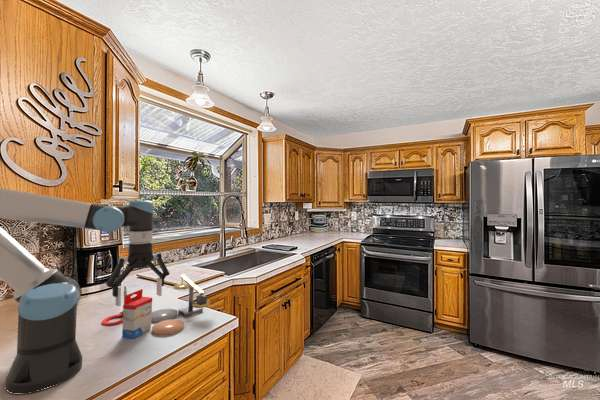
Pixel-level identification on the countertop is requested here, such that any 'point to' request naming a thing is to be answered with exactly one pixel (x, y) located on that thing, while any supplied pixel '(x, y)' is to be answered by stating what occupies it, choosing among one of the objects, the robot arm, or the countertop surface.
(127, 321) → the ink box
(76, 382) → the countertop surface
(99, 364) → the countertop surface
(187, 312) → the balance
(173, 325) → the dish low
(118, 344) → the countertop surface
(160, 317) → the dish high
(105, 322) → the tow hook
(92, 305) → the countertop surface
